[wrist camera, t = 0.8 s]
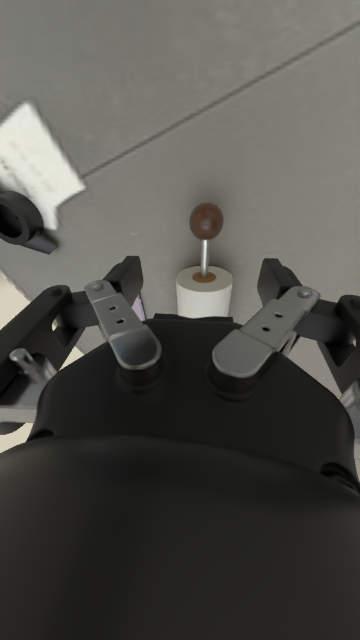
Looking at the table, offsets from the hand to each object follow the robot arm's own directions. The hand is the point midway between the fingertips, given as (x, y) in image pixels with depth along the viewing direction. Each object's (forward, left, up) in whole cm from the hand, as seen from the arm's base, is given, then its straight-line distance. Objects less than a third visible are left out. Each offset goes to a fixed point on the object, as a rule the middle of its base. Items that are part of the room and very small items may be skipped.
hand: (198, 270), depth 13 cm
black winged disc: (+10, -23, -15) cm, 29 cm away
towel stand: (+8, +4, -15) cm, 17 cm away
